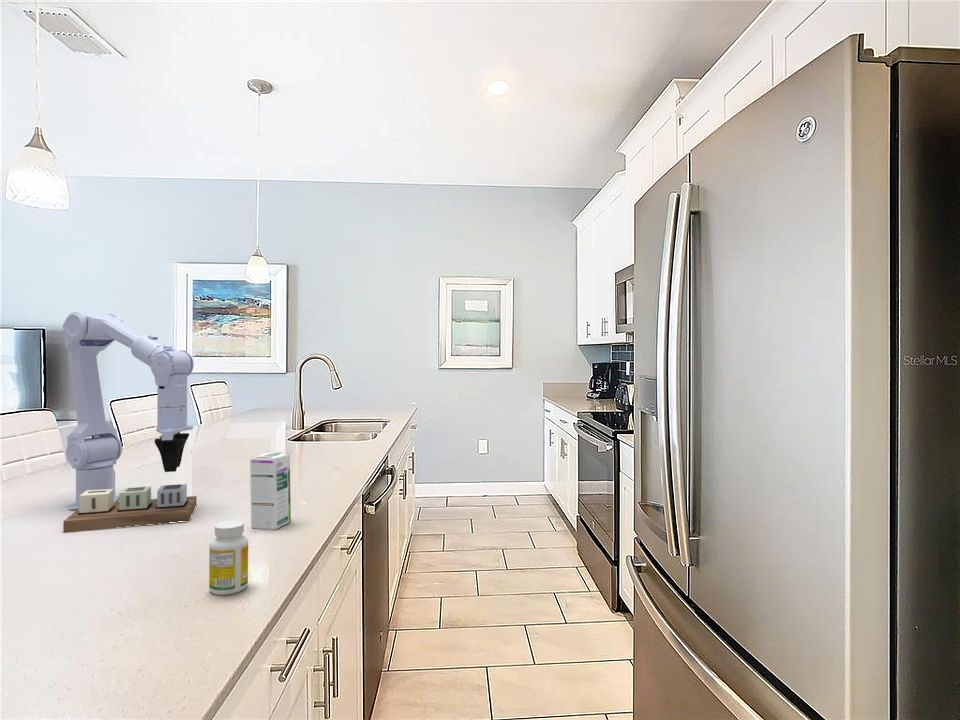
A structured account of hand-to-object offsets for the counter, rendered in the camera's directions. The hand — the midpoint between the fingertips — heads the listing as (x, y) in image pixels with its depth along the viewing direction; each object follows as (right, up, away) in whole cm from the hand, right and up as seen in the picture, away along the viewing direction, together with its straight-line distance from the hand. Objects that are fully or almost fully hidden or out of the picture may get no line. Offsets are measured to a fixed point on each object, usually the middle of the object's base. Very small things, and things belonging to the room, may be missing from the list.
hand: (172, 469), depth 126 cm
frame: (-7, -10, -2) cm, 12 cm away
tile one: (-13, -7, -5) cm, 16 cm away
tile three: (0, -7, 0) cm, 7 cm away
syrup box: (+24, -10, -7) cm, 27 cm away
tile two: (-7, -7, -2) cm, 10 cm away
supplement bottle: (+29, -11, -39) cm, 50 cm away
